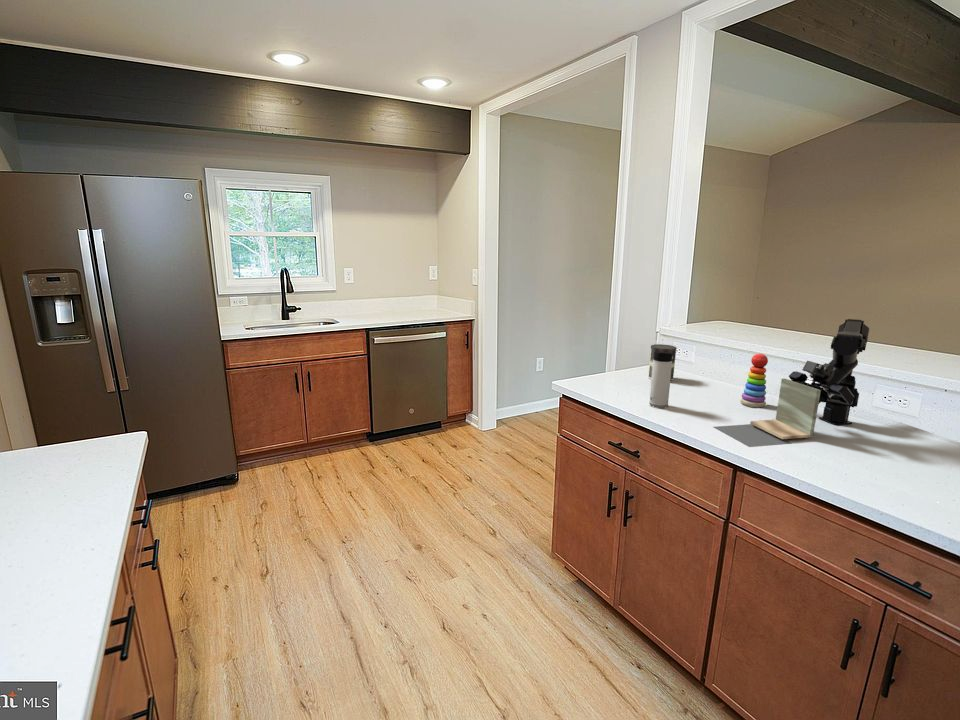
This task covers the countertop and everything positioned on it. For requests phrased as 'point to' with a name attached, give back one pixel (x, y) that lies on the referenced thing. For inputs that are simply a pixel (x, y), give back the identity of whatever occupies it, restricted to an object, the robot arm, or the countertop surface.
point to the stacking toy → (756, 383)
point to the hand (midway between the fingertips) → (799, 407)
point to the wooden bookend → (793, 412)
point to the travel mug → (660, 379)
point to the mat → (751, 435)
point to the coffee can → (662, 349)
